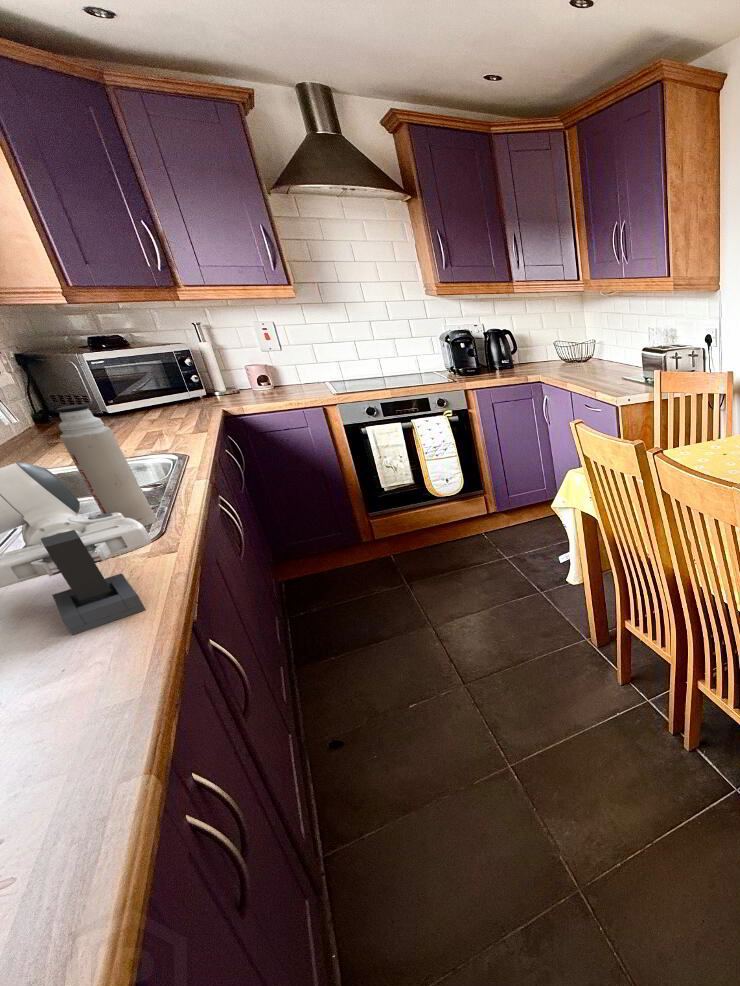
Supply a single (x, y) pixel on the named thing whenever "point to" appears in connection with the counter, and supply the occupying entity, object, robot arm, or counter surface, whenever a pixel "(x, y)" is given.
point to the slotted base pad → (98, 606)
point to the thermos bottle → (103, 464)
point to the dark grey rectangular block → (76, 564)
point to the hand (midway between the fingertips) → (76, 563)
